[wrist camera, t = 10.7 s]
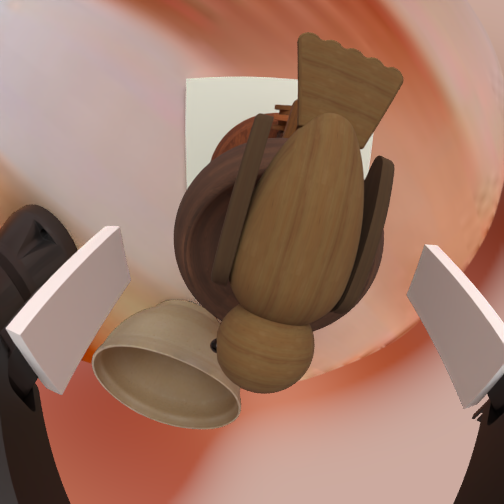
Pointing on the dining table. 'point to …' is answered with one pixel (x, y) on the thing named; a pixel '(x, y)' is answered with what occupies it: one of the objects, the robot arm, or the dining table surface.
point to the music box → (290, 217)
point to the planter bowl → (169, 367)
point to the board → (233, 113)
